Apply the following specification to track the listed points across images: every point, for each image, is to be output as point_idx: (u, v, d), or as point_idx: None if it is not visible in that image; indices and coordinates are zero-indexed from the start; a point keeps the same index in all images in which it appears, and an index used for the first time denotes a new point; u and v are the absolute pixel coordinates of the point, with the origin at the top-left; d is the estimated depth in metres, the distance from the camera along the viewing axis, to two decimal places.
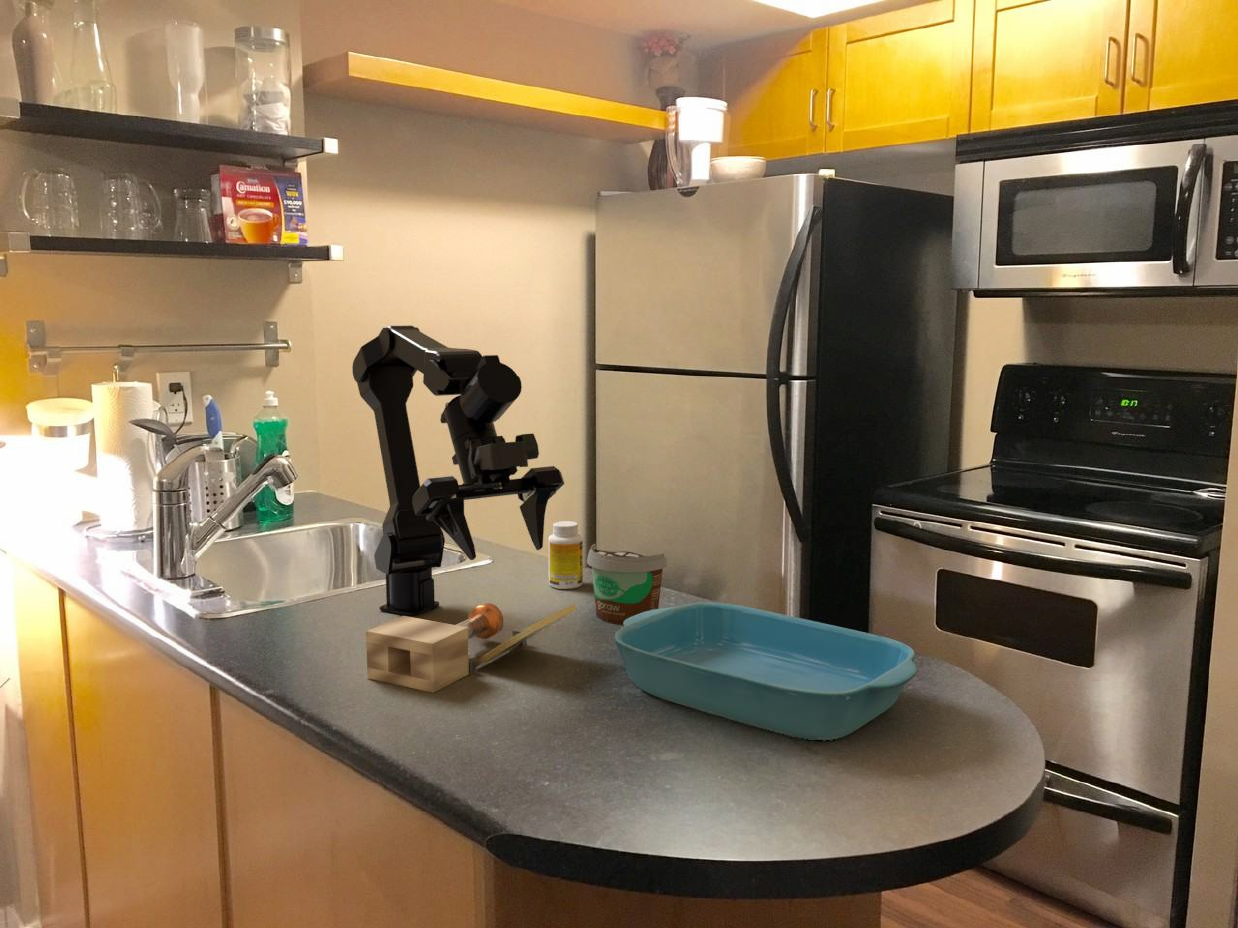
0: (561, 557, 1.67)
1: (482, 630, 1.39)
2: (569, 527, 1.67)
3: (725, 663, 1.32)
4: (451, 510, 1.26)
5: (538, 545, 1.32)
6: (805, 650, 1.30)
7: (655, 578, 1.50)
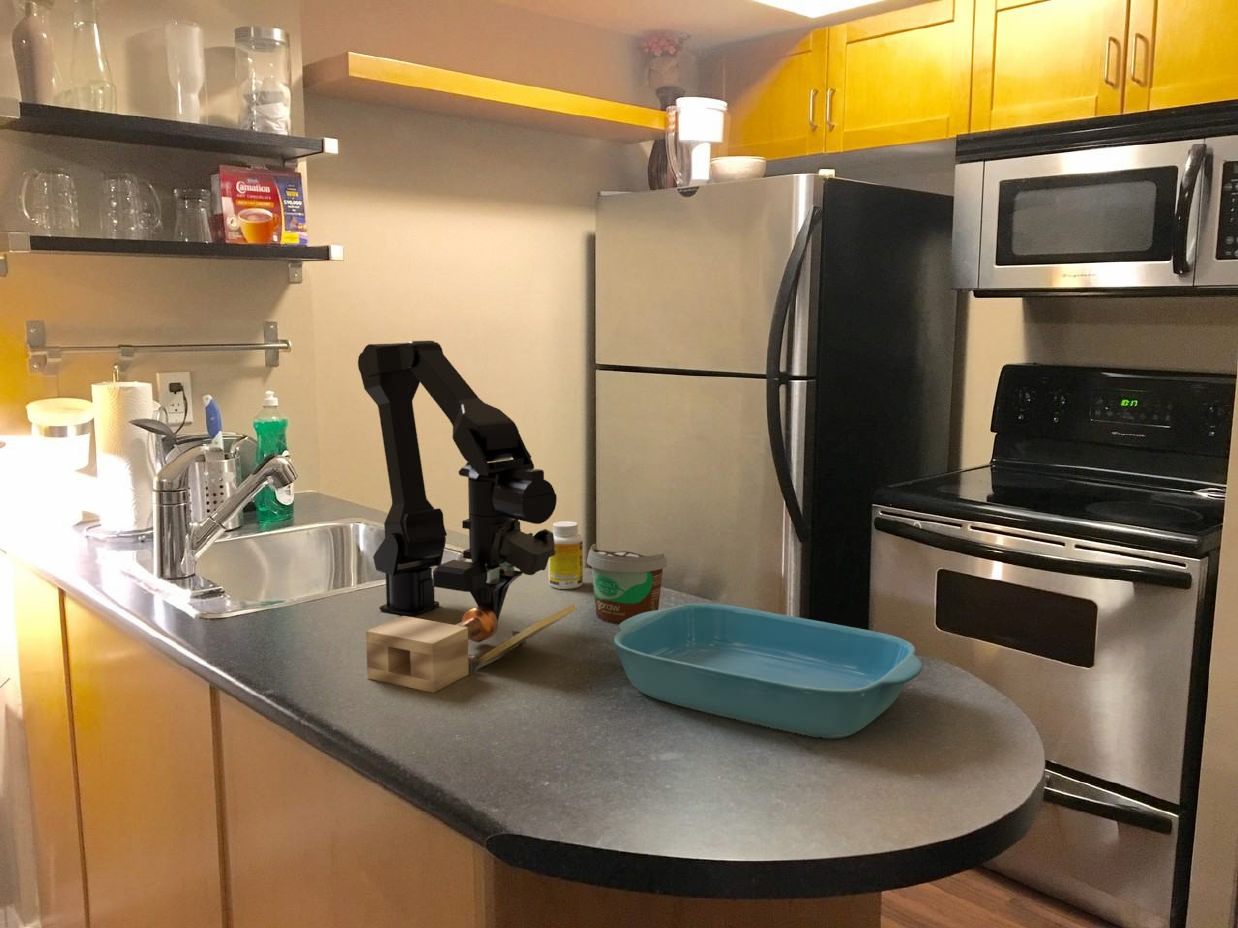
0: (561, 557, 1.67)
1: (475, 633, 1.38)
2: (569, 527, 1.67)
3: (720, 664, 1.32)
4: (494, 589, 1.39)
5: None
6: (799, 648, 1.31)
7: (655, 578, 1.50)
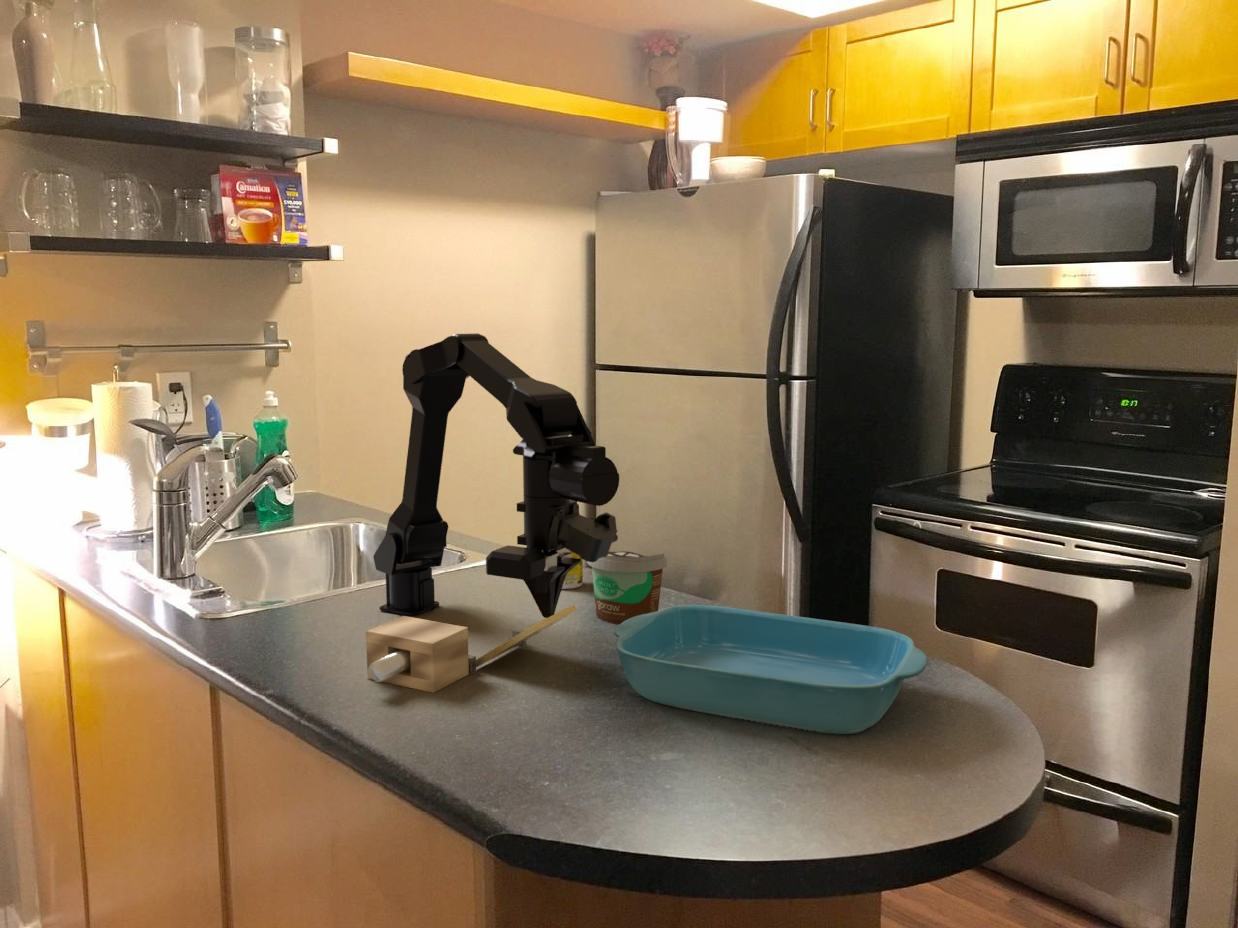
0: None
1: None
2: None
3: (713, 665, 1.31)
4: (551, 578, 1.27)
5: None
6: (791, 645, 1.32)
7: (655, 578, 1.50)
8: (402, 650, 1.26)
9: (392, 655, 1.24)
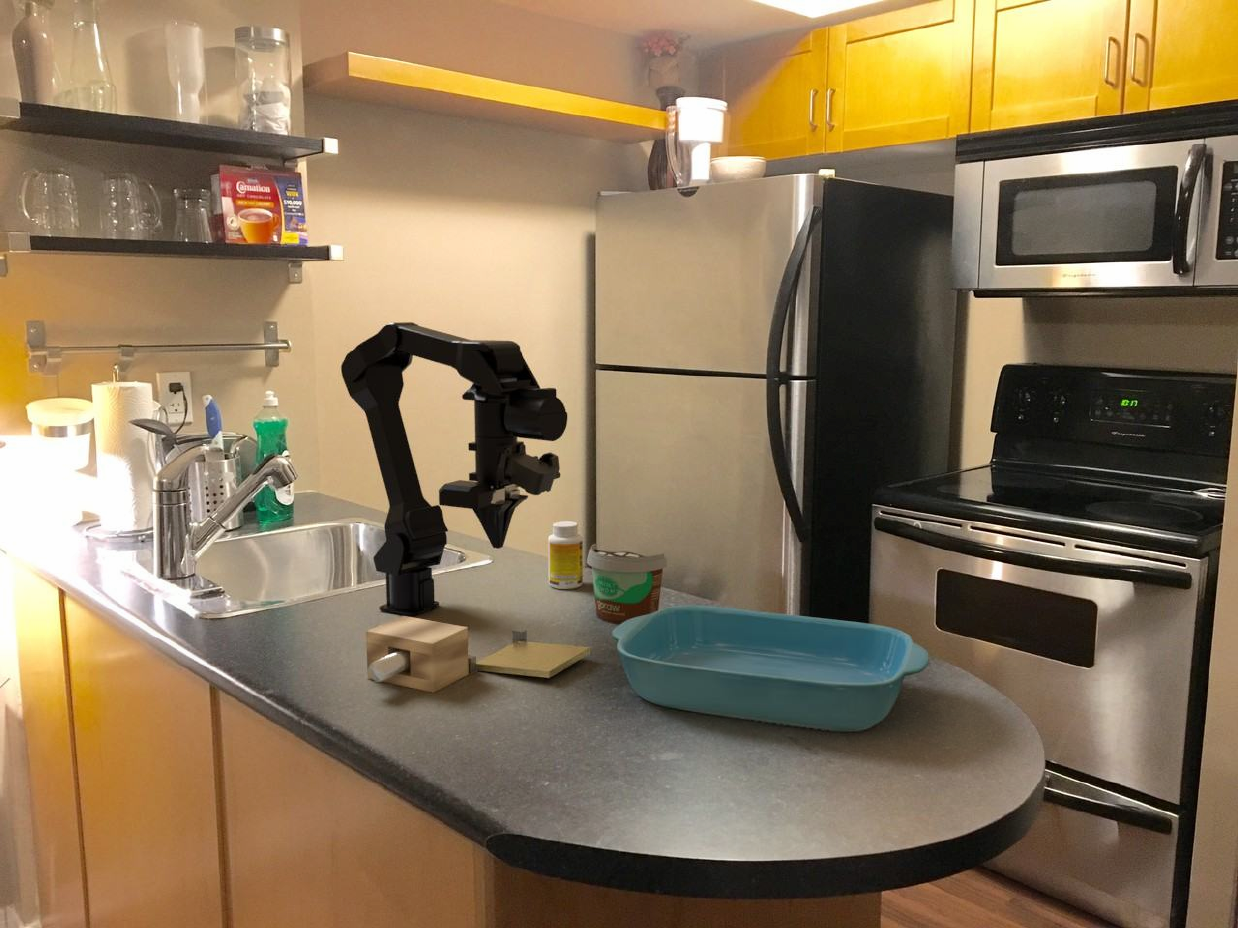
0: (561, 557, 1.67)
1: None
2: (569, 527, 1.67)
3: (710, 665, 1.31)
4: (499, 510, 1.41)
5: None
6: (786, 644, 1.32)
7: (655, 578, 1.50)
8: (402, 650, 1.26)
9: (392, 655, 1.24)
